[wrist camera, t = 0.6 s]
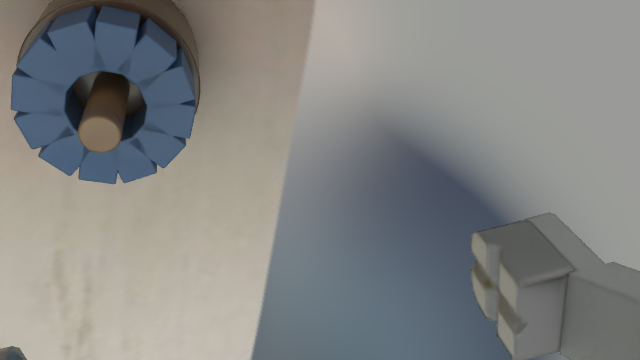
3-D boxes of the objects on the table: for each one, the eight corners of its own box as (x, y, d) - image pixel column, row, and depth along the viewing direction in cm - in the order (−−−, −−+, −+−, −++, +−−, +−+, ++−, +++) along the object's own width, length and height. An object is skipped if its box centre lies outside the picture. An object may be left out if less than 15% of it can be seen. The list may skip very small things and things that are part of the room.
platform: (5, 4, 25) (-63, 72, 18) (164, -44, 26) (160, 4, 18) (79, 143, 29) (48, 246, 22) (217, 100, 29) (231, 186, 22)
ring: (-9, 35, 22) (-26, 54, 20) (158, -15, 22) (156, -1, 20) (70, 176, 25) (62, 203, 24) (214, 131, 26) (217, 154, 24)
